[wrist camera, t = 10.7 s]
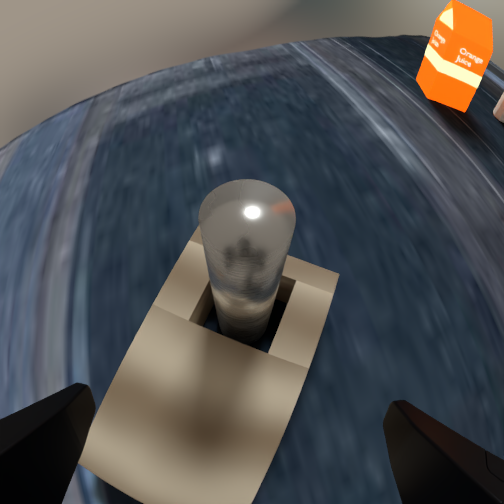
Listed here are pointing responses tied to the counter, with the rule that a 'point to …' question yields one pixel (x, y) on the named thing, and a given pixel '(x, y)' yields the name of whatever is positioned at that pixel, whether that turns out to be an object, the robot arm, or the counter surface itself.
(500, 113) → the squeeze bottle
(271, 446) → the birch hole board
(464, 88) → the orange juice
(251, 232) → the steel peg
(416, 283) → the counter surface
